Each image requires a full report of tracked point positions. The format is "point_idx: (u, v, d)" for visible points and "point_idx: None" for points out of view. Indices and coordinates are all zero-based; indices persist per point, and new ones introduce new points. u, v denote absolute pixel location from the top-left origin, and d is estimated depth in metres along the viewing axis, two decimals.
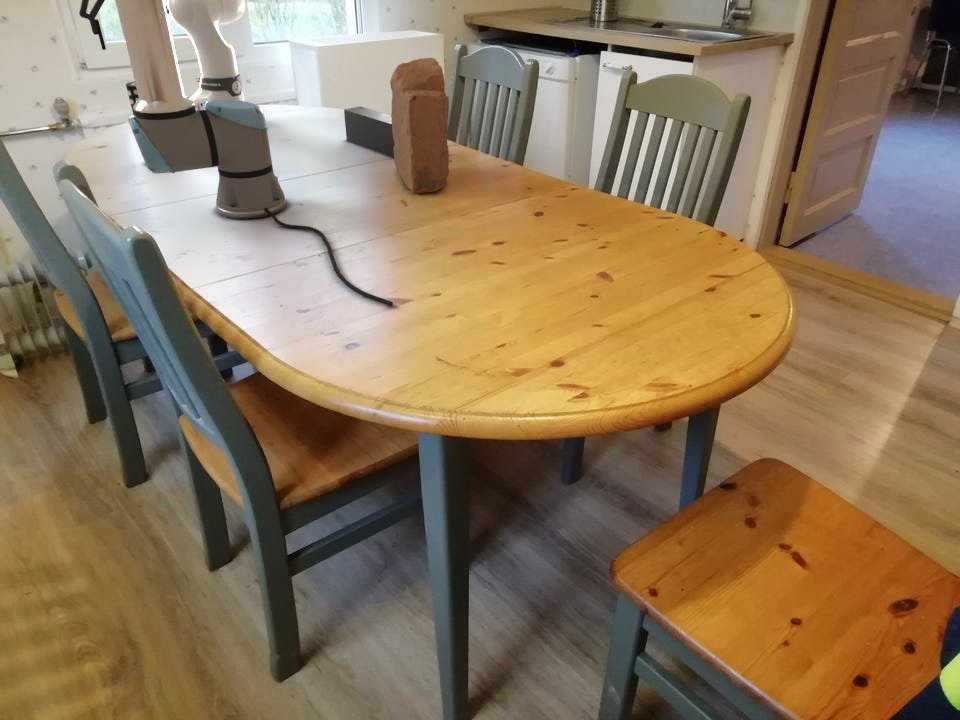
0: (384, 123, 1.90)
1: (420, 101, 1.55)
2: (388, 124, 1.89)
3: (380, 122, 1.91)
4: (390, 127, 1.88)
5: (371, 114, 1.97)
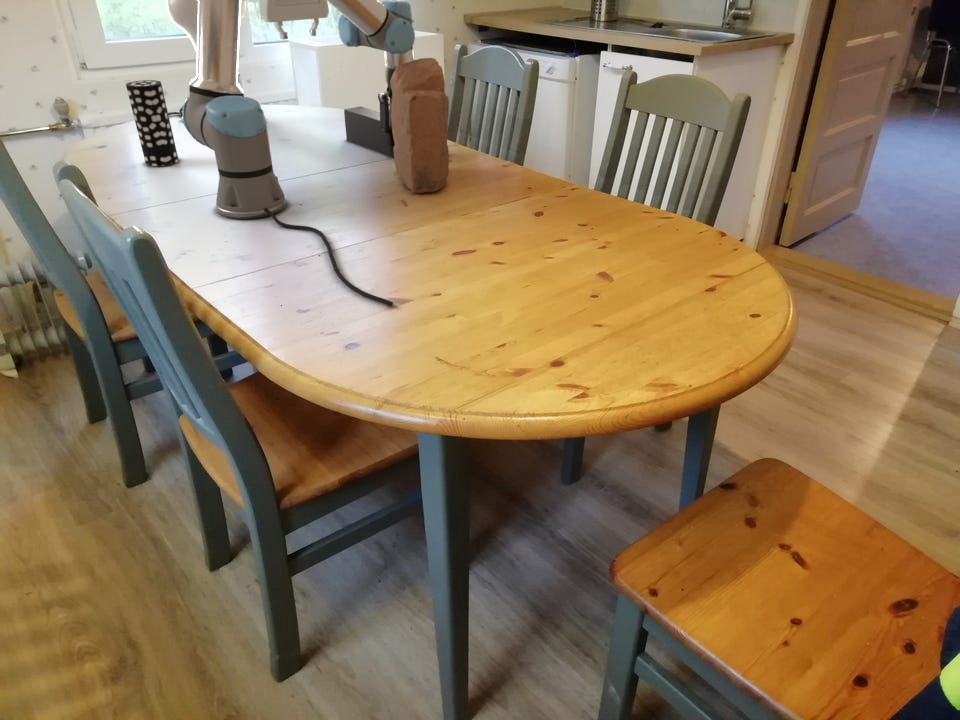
0: None
1: (420, 101, 1.55)
2: None
3: None
4: None
5: (371, 114, 1.97)
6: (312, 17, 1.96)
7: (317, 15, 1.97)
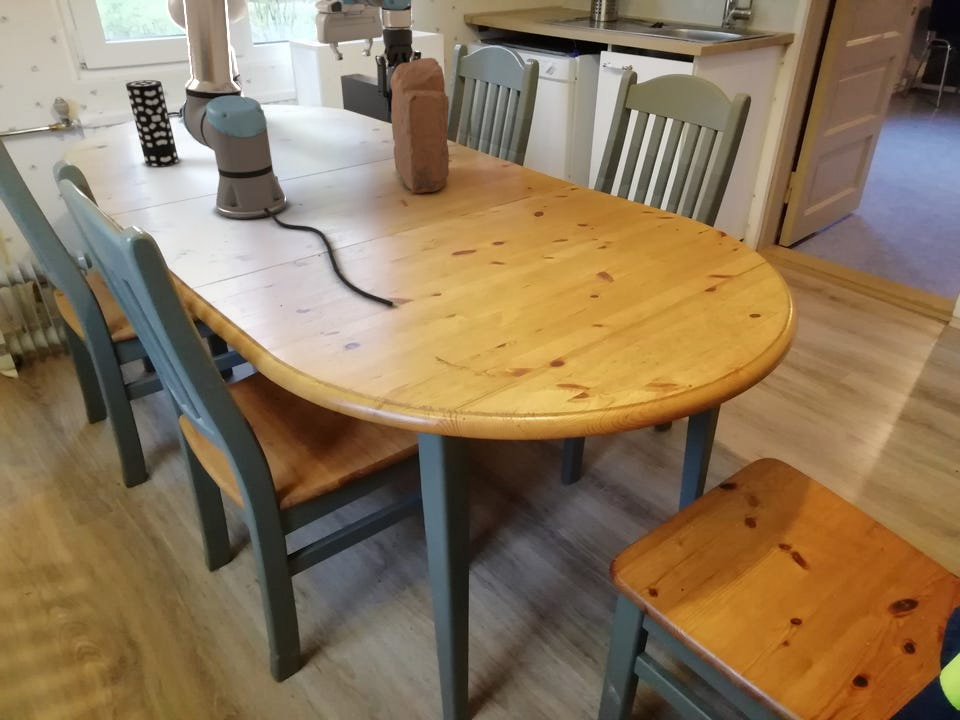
0: None
1: (420, 101, 1.55)
2: None
3: None
4: None
5: (368, 80, 1.91)
6: (367, 37, 1.92)
7: (372, 35, 1.93)
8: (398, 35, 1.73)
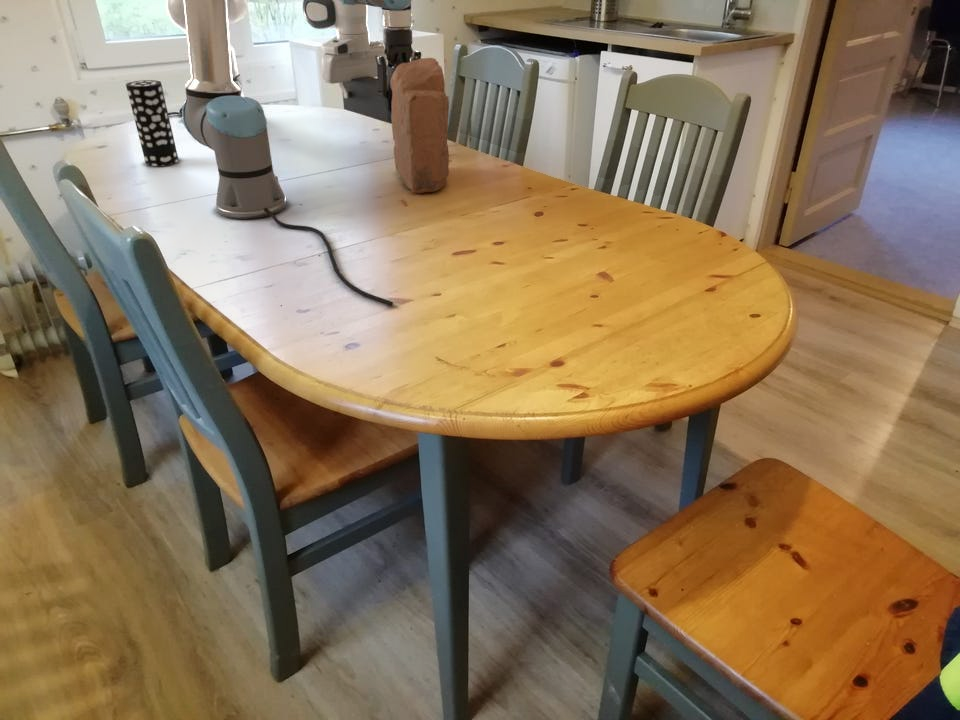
0: None
1: (420, 101, 1.55)
2: None
3: None
4: None
5: (369, 80, 1.92)
6: (371, 76, 1.97)
7: (376, 74, 1.98)
8: (398, 35, 1.73)
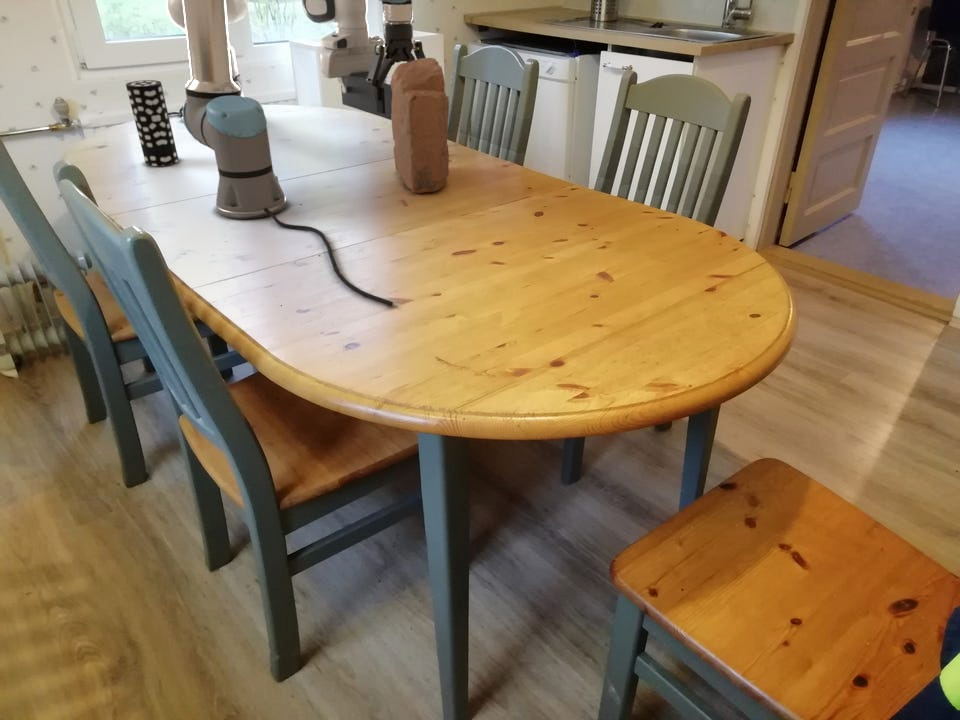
0: None
1: (420, 101, 1.55)
2: (385, 84, 1.83)
3: None
4: (387, 87, 1.83)
5: None
6: None
7: None
8: (398, 29, 1.73)
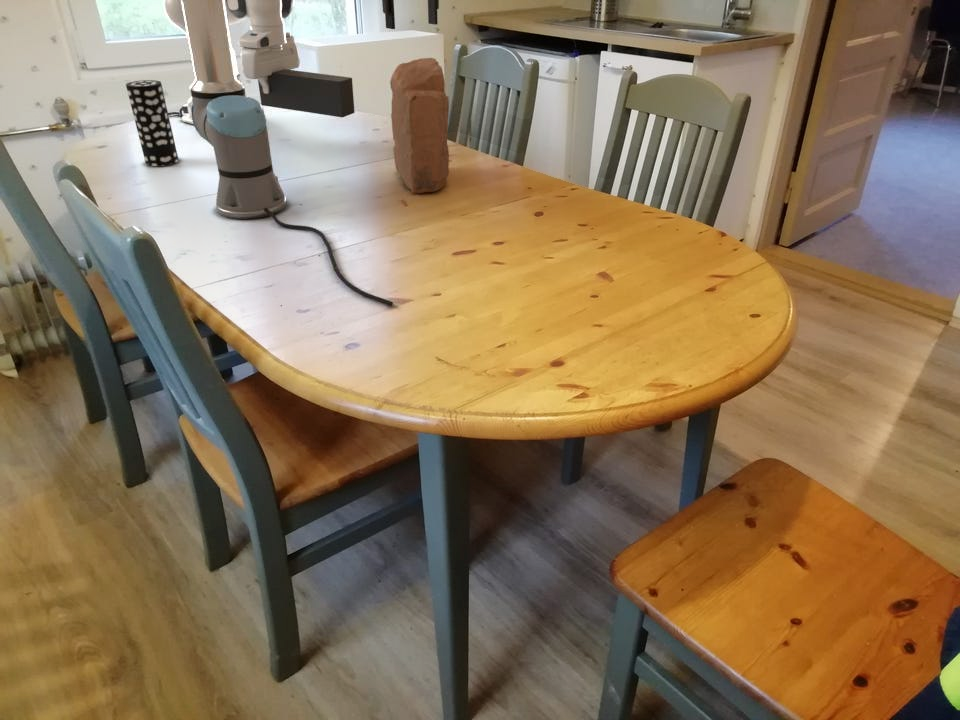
0: (315, 80, 1.82)
1: (420, 101, 1.55)
2: (321, 80, 1.82)
3: (310, 79, 1.83)
4: (324, 83, 1.82)
5: (292, 73, 1.87)
6: (287, 69, 1.92)
7: (291, 66, 1.93)
8: None
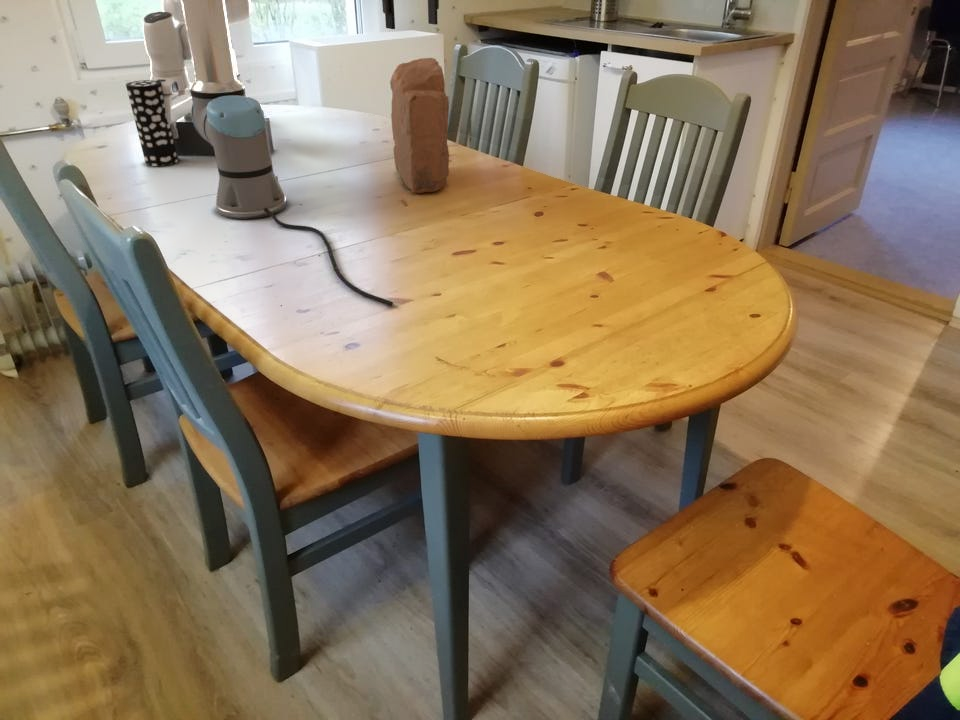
0: None
1: (420, 101, 1.55)
2: None
3: None
4: None
5: None
6: (190, 110, 1.92)
7: None
8: None
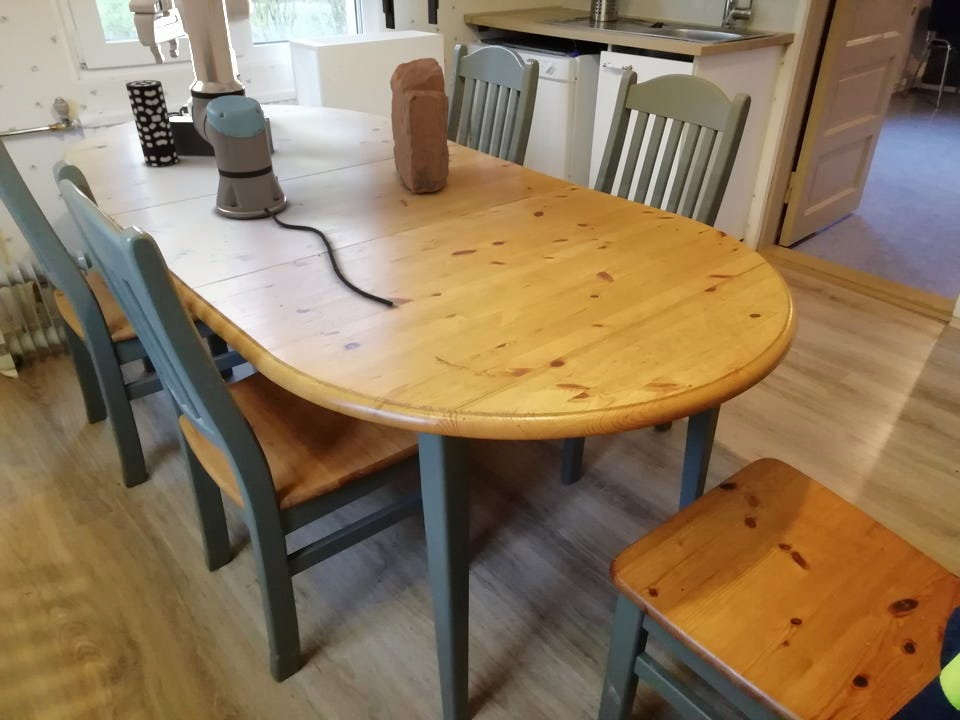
0: None
1: (420, 101, 1.55)
2: None
3: None
4: None
5: None
6: (176, 37, 1.82)
7: (178, 34, 1.83)
8: None
